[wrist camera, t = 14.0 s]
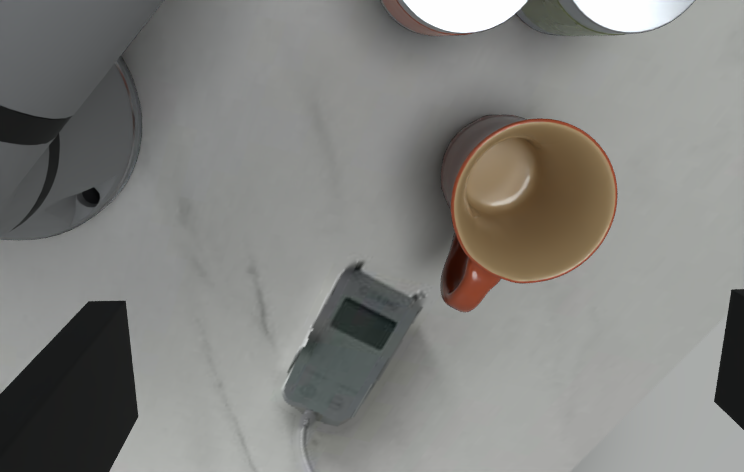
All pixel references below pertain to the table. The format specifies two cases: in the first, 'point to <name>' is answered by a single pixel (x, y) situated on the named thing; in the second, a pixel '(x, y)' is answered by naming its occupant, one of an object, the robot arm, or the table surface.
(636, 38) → the table surface
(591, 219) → the mug
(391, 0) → the tins
